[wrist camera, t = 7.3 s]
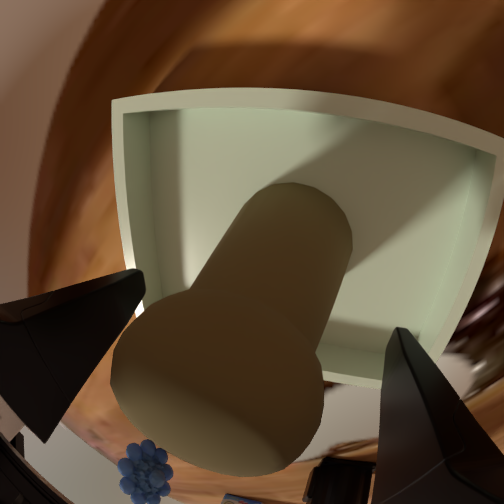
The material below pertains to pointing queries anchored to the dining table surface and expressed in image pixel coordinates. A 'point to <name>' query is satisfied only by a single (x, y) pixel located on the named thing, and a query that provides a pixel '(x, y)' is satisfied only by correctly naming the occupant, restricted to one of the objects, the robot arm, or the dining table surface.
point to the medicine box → (238, 500)
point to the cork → (241, 340)
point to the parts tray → (327, 181)
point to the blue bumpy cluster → (145, 473)
